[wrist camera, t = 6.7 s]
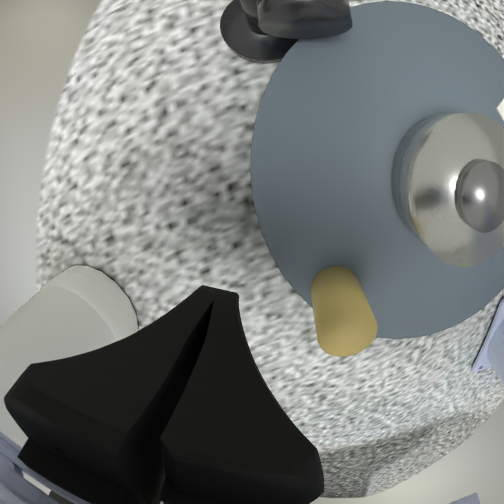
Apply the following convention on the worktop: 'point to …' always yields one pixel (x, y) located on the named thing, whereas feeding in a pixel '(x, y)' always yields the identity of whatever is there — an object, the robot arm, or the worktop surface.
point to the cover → (452, 186)
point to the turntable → (368, 172)
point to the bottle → (61, 330)
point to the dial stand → (280, 25)
